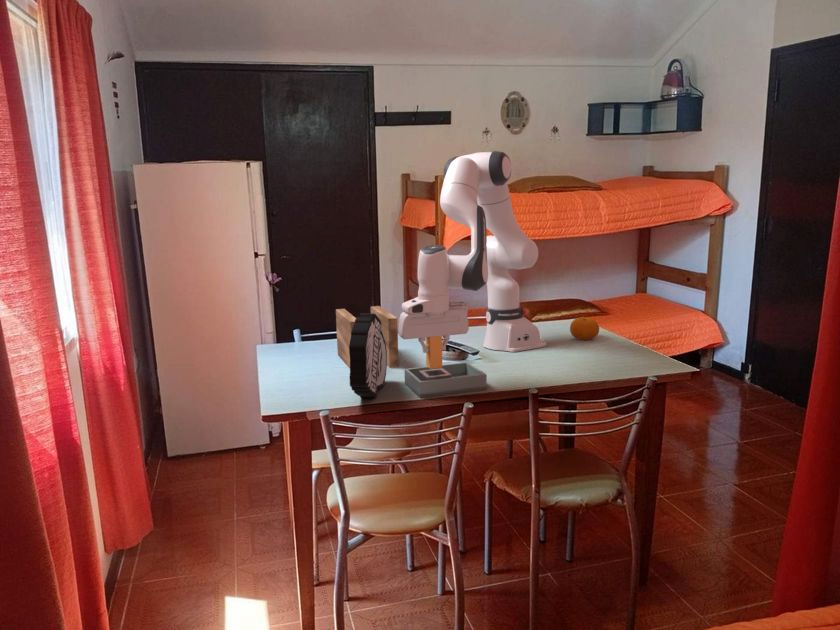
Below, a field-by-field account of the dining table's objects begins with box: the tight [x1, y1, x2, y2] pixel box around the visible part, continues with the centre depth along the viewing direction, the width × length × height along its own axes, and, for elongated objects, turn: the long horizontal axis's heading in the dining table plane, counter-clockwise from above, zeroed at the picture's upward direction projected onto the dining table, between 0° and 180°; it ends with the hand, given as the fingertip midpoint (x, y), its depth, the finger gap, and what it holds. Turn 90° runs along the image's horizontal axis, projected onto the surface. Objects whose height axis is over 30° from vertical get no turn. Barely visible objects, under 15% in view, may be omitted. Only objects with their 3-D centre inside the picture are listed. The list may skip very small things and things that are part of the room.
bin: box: [403, 361, 488, 399], centre depth 194 cm, size 20×14×4 cm
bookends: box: [335, 305, 399, 369], centre depth 222 cm, size 15×22×16 cm
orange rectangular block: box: [425, 336, 443, 369], centre depth 191 cm, size 4×4×10 cm
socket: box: [419, 368, 452, 381], centre depth 193 cm, size 7×7×4 cm
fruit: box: [569, 316, 600, 341], centre depth 246 cm, size 10×10×8 cm
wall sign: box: [349, 312, 388, 399], centre depth 186 cm, size 22×4×30 cm
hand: (434, 351), depth 191 cm, fingers closed on orange rectangular block, 4 cm apart
